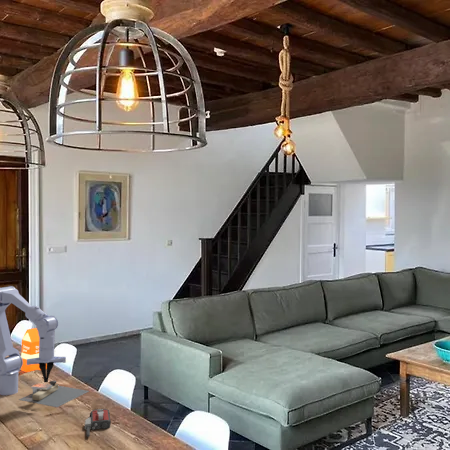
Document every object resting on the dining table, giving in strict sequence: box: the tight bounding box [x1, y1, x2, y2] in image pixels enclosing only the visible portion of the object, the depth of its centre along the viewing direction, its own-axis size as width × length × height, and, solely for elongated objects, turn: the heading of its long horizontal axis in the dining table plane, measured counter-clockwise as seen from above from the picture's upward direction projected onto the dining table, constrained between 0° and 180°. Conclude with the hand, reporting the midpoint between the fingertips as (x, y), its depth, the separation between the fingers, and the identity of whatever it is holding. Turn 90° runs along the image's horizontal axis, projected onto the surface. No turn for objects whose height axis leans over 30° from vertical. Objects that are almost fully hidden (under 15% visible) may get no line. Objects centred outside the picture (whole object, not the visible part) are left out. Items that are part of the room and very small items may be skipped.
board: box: [18, 385, 90, 408], centre depth 204 cm, size 19×20×1 cm
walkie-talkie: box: [84, 408, 112, 438], centre depth 177 cm, size 9×4×20 cm
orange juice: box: [20, 327, 47, 373], centre depth 240 cm, size 8×9×20 cm
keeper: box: [30, 383, 52, 394], centre depth 205 cm, size 4×7×4 cm, turn 78°
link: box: [32, 380, 59, 401], centre depth 204 cm, size 14×3×4 cm, turn 169°
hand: (46, 381), depth 199 cm, fingers closed
